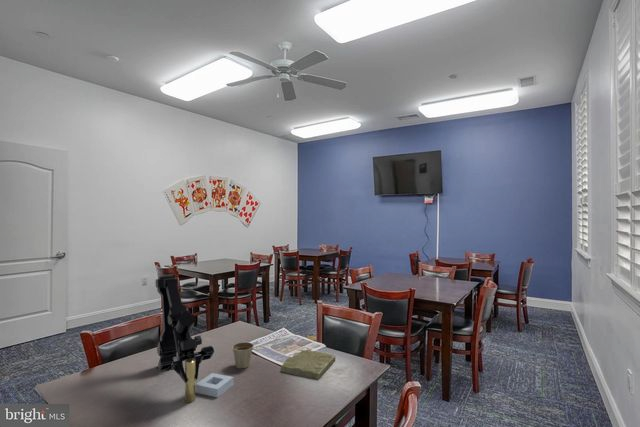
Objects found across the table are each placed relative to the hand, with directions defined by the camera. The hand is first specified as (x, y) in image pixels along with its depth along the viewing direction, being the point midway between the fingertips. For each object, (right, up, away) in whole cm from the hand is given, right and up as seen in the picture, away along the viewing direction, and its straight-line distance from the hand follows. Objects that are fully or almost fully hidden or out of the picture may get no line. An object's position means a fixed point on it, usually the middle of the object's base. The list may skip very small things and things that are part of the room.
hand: (191, 380), depth 121 cm
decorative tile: (+40, -9, +30) cm, 51 cm away
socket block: (+5, -8, +9) cm, 13 cm away
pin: (-1, -8, +1) cm, 8 cm away
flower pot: (+12, -8, +30) cm, 33 cm away
